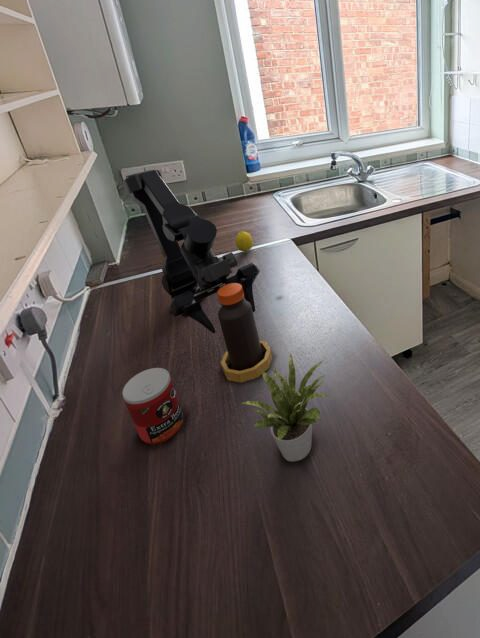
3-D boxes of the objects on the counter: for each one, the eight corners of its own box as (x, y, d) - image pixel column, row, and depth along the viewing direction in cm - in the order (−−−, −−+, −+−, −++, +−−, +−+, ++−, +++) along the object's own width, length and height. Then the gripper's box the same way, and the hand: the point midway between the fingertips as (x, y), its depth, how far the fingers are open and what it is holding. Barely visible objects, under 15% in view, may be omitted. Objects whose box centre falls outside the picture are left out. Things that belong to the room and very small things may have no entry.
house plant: (354, 418, 76) (346, 350, 70) (328, 493, 63) (315, 419, 57) (285, 407, 79) (271, 341, 73) (247, 476, 67) (227, 404, 60)
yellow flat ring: (217, 384, 86) (214, 375, 85) (233, 349, 95) (230, 340, 94) (264, 381, 86) (262, 372, 85) (275, 346, 95) (274, 337, 94)
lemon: (234, 254, 139) (229, 234, 136) (245, 247, 144) (241, 227, 140) (247, 257, 137) (242, 236, 134) (257, 249, 141) (253, 229, 138)
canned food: (155, 453, 72) (136, 408, 67) (131, 433, 76) (112, 389, 71) (193, 420, 78) (178, 377, 73) (169, 403, 82) (154, 361, 77)
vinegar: (231, 359, 92) (211, 285, 85) (261, 349, 95) (245, 277, 87) (233, 379, 86) (212, 302, 79) (265, 369, 89) (248, 293, 81)
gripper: (160, 264, 78) (196, 334, 75) (247, 231, 90) (282, 290, 87) (157, 284, 87) (190, 348, 84) (238, 251, 99) (269, 306, 96)
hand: (235, 321), depth 87 cm, fingers open, 9 cm apart
